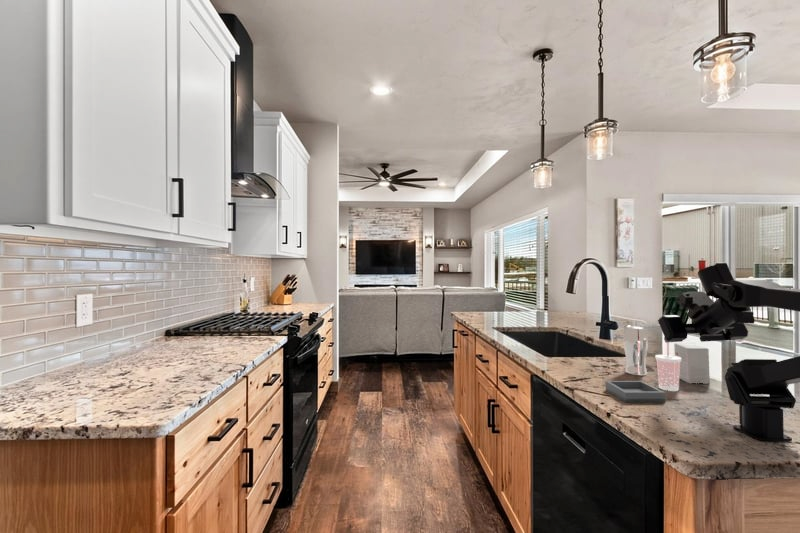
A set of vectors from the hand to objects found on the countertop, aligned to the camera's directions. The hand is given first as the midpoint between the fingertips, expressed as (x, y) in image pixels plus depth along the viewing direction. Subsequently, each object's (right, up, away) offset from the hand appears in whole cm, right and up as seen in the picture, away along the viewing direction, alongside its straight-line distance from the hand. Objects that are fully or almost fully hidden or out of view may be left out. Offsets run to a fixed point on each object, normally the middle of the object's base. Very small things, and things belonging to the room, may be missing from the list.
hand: (683, 340), depth 102 cm
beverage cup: (+1, -15, +6) cm, 17 cm away
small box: (+13, -15, +14) cm, 24 cm away
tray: (-12, -15, +1) cm, 20 cm away
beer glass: (+1, -15, +22) cm, 27 cm away
